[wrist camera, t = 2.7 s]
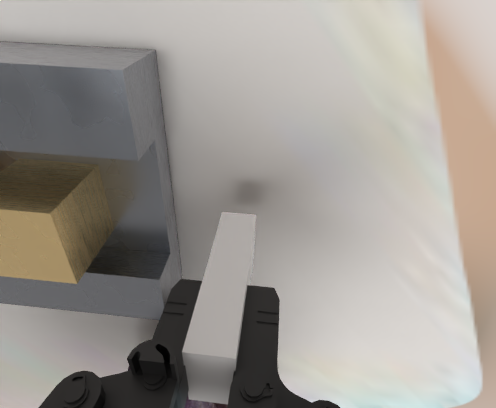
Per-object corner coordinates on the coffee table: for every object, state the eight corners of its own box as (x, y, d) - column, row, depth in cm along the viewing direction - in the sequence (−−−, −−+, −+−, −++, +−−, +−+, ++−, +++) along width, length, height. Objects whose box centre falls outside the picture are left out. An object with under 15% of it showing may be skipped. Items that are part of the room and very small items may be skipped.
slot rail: (-29, 255, 23) (-73, 295, 20) (-166, 32, 15) (-270, 46, 12) (182, 276, 22) (166, 320, 20) (155, 50, 14) (122, 69, 11)
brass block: (45, 222, 19) (-6, 275, 15) (19, 158, 16) (-48, 205, 13) (114, 228, 18) (77, 283, 15) (98, 164, 16) (49, 213, 13)
